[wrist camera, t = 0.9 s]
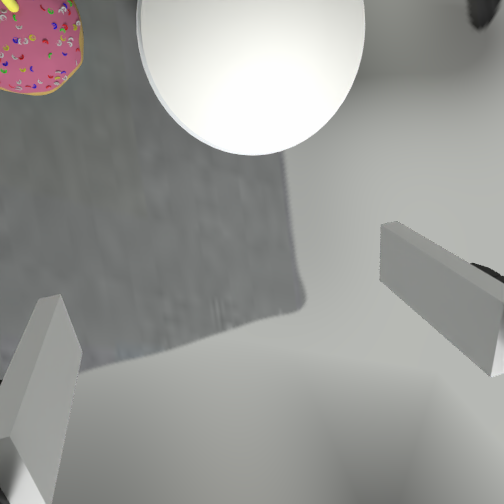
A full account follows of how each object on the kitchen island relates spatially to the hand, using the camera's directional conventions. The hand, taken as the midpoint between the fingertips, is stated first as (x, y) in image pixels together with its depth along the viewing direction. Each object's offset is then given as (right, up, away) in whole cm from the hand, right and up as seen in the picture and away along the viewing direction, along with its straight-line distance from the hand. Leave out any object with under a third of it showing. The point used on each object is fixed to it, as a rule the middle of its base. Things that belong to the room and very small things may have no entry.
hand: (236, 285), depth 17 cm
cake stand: (0, +19, +18) cm, 27 cm away
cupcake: (-16, +18, +15) cm, 29 cm away
